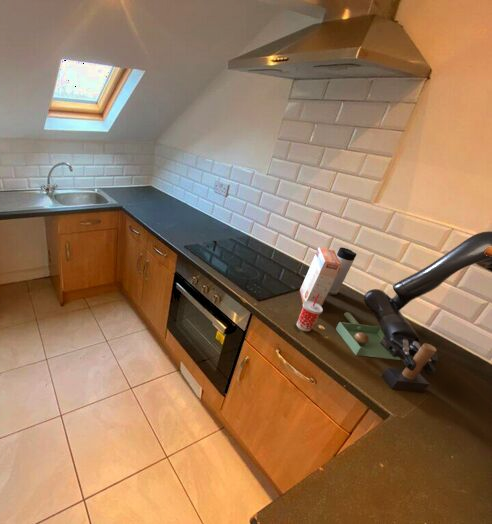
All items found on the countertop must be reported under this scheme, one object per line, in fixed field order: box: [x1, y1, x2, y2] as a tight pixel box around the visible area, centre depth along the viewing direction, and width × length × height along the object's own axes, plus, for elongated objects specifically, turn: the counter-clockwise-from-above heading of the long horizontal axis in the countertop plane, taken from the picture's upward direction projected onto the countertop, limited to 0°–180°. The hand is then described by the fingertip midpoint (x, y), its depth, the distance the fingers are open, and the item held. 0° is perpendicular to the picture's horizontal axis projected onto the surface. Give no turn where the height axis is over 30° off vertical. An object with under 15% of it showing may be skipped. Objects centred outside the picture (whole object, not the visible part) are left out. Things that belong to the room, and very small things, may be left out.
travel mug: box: [327, 246, 357, 296], centre depth 124 cm, size 6×7×20 cm
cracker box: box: [299, 246, 342, 307], centre depth 115 cm, size 14×6×21 cm, turn 160°
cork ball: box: [354, 332, 369, 345], centre depth 99 cm, size 4×4×4 cm
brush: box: [381, 342, 437, 393], centre depth 83 cm, size 9×4×14 cm, turn 88°
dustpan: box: [335, 312, 402, 361], centre depth 103 cm, size 20×15×3 cm
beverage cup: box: [296, 294, 324, 332], centre depth 102 cm, size 6×6×14 cm
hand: (422, 370), depth 80 cm, fingers open, 3 cm apart
